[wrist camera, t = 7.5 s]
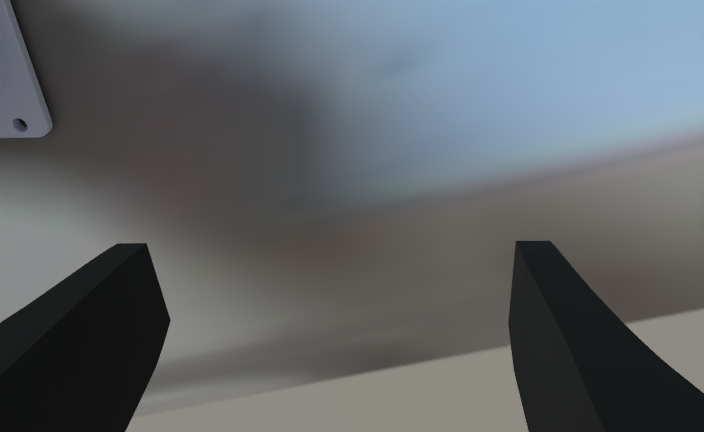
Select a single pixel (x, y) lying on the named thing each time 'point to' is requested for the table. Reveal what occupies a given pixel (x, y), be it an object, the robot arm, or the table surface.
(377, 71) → the table surface
